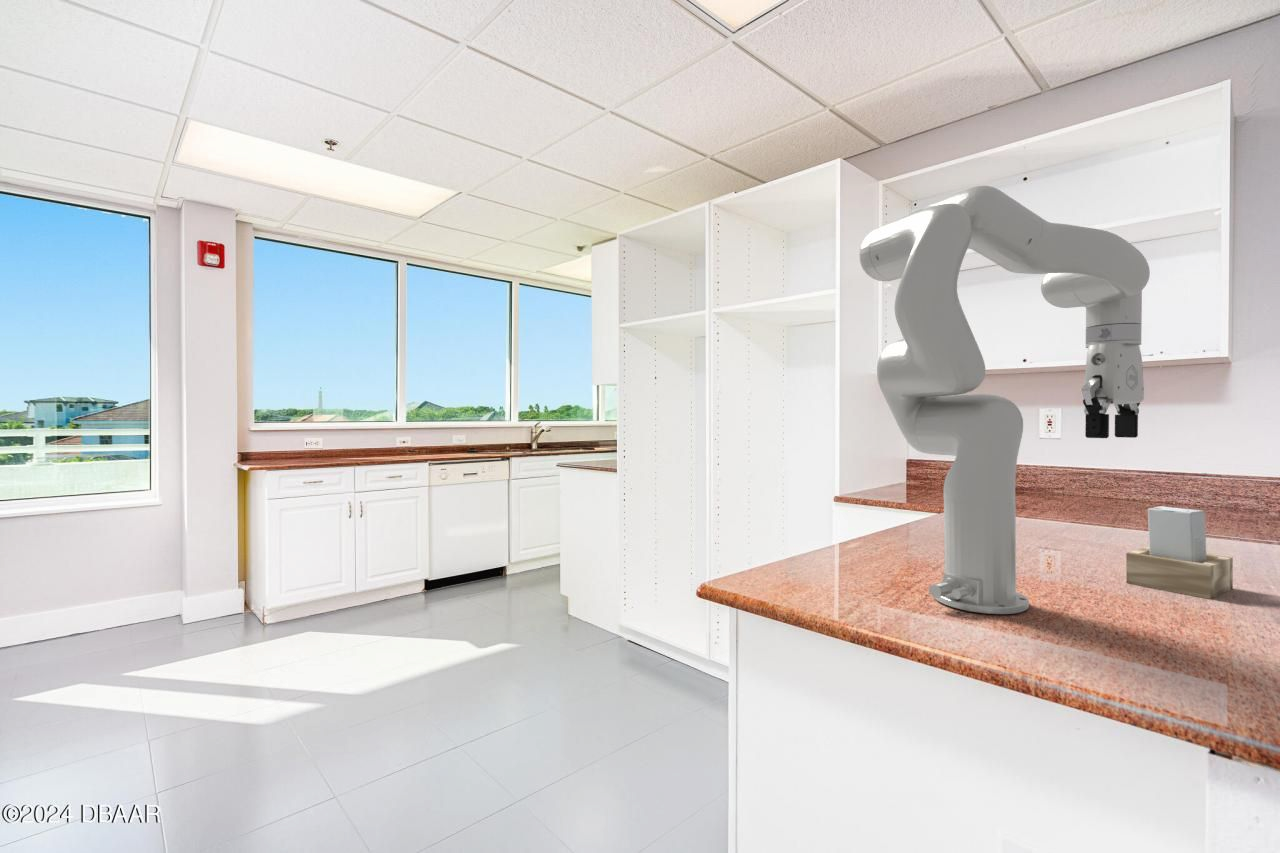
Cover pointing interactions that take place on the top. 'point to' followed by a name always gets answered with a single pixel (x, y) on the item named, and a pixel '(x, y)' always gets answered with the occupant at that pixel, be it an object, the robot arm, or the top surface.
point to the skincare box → (1177, 533)
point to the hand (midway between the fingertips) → (1111, 437)
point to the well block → (1180, 573)
